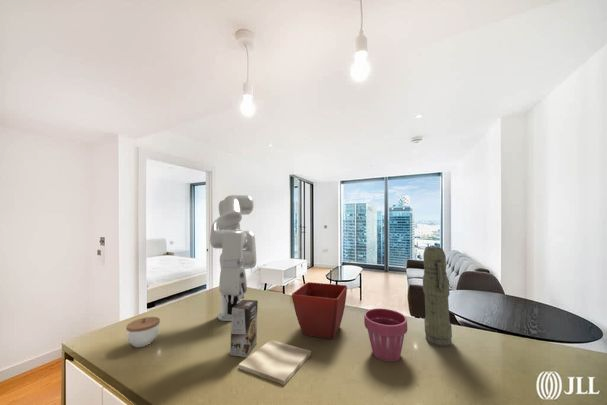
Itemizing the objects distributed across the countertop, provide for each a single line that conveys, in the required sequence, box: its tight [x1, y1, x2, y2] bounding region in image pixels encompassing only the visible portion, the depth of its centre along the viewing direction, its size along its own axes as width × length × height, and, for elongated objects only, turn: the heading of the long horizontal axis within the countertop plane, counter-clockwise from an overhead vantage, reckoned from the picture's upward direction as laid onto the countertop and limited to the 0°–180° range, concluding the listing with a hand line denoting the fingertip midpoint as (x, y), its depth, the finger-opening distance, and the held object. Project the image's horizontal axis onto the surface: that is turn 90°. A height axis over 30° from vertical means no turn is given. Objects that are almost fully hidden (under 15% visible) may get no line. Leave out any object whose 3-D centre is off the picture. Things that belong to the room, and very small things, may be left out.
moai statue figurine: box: [422, 246, 453, 348], centre depth 92 cm, size 9×12×35 cm
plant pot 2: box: [363, 307, 408, 362], centre depth 82 cm, size 14×14×13 cm
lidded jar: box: [125, 316, 161, 348], centre depth 92 cm, size 11×11×9 cm
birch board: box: [238, 339, 312, 386], centre depth 79 cm, size 17×17×1 cm
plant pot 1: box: [291, 281, 348, 340], centre depth 101 cm, size 19×19×17 cm
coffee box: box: [229, 299, 258, 358], centre depth 87 cm, size 9×6×16 cm
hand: (232, 313), depth 89 cm, fingers closed
